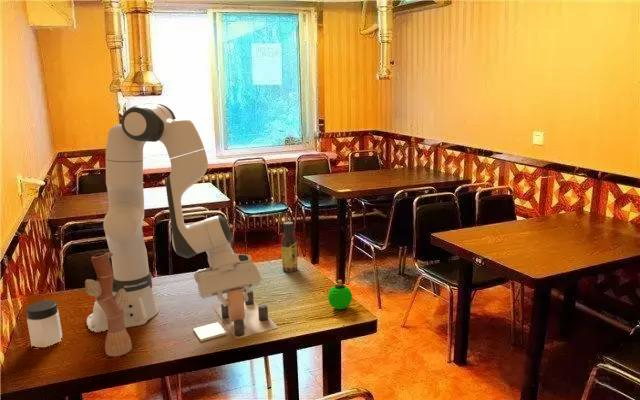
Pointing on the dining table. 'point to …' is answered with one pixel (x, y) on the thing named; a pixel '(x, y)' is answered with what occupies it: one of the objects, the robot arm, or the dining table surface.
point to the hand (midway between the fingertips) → (236, 303)
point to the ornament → (340, 296)
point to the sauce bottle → (289, 248)
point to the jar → (44, 323)
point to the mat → (209, 331)
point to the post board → (248, 319)
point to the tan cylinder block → (236, 304)
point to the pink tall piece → (110, 305)
